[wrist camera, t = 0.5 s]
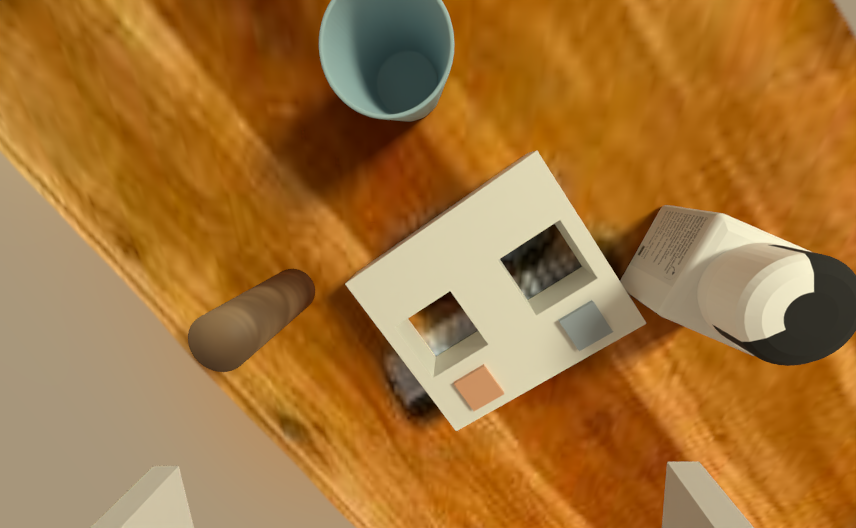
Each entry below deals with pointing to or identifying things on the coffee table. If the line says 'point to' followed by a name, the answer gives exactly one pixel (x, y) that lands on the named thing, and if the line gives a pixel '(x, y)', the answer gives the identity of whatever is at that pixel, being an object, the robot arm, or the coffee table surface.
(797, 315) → the container
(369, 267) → the socket board
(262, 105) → the coffee table surface
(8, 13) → the coffee table surface
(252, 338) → the dowel
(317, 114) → the coffee table surface
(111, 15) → the coffee table surface
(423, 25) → the cup
